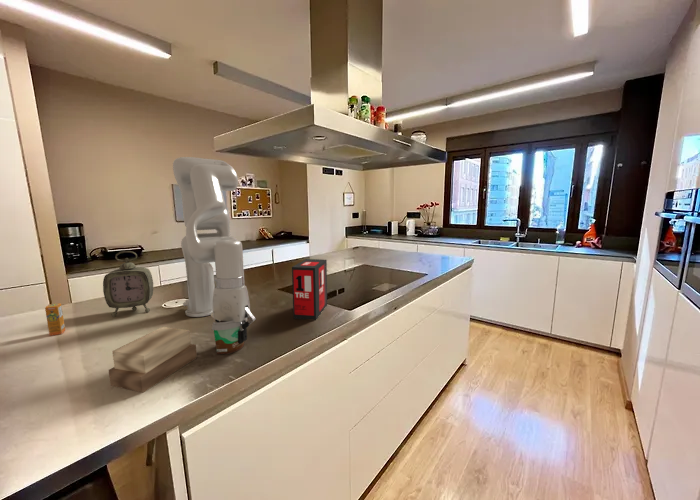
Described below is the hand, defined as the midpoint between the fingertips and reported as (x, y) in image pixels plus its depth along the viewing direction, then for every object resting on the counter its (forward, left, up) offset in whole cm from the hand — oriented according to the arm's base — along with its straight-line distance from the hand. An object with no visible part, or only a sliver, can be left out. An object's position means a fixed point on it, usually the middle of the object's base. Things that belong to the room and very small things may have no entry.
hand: (234, 339), depth 87 cm
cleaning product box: (+10, +34, -3) cm, 36 cm away
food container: (+1, 0, -3) cm, 3 cm away
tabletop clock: (-59, +14, -3) cm, 60 cm away
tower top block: (-11, -16, +2) cm, 20 cm away
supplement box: (-64, -8, -3) cm, 64 cm away
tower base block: (-11, -16, -3) cm, 20 cm away
